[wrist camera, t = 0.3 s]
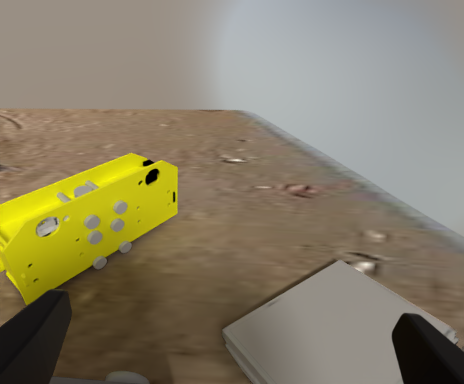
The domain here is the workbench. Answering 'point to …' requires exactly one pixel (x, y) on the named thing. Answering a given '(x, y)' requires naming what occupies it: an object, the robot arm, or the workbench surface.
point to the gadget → (325, 332)
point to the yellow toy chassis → (83, 221)
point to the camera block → (119, 380)
